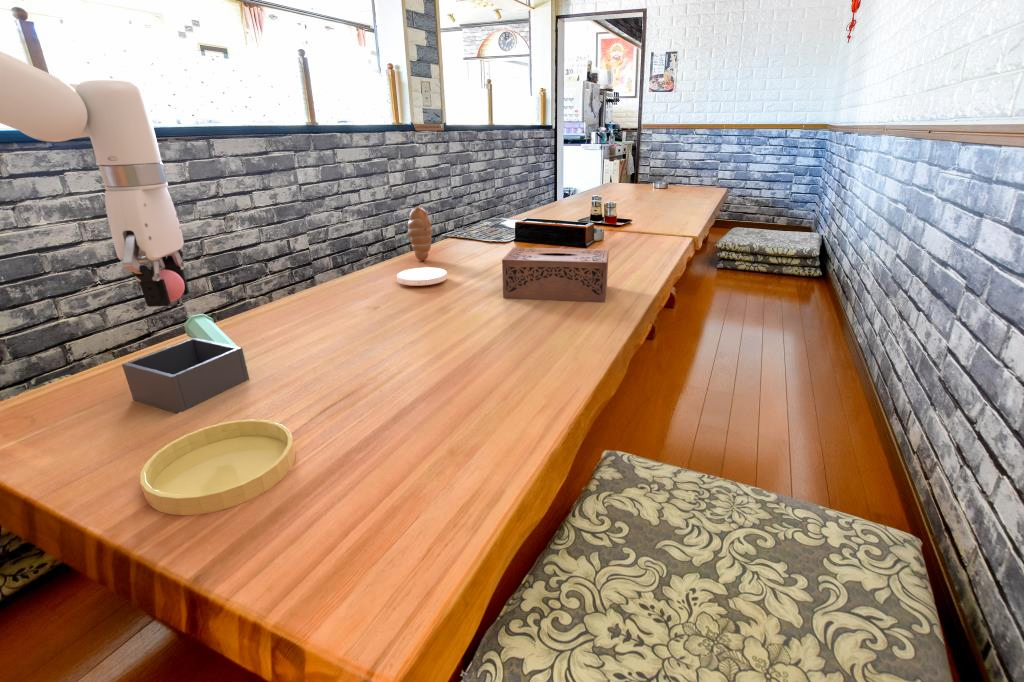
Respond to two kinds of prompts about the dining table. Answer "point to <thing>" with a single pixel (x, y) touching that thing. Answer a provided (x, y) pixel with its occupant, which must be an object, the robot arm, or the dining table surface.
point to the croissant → (420, 232)
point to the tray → (217, 467)
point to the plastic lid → (421, 276)
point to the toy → (173, 284)
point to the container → (206, 330)
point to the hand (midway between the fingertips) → (168, 298)
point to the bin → (185, 374)
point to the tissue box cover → (555, 274)
